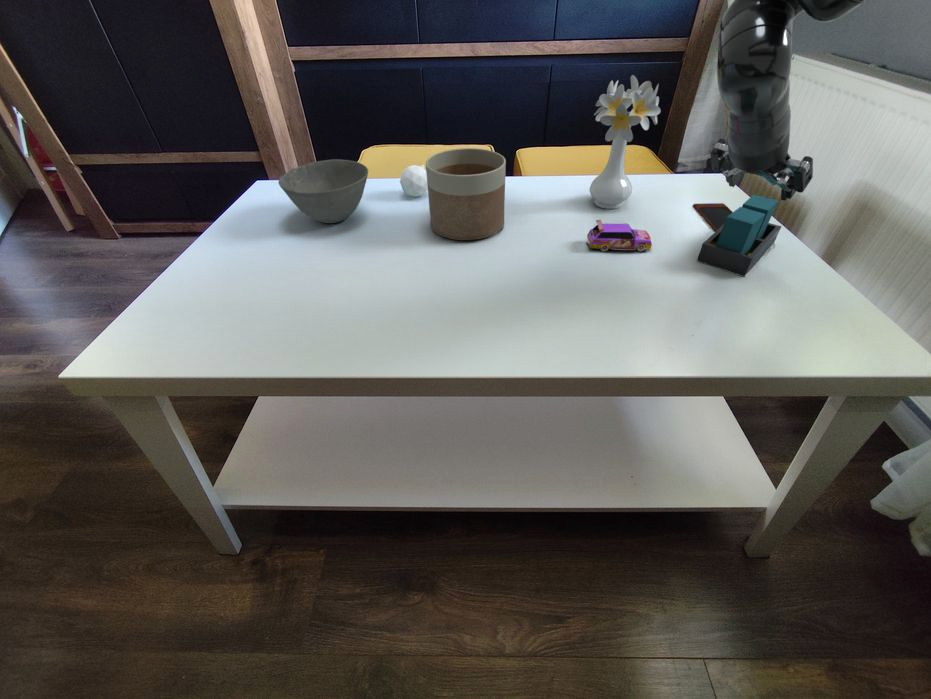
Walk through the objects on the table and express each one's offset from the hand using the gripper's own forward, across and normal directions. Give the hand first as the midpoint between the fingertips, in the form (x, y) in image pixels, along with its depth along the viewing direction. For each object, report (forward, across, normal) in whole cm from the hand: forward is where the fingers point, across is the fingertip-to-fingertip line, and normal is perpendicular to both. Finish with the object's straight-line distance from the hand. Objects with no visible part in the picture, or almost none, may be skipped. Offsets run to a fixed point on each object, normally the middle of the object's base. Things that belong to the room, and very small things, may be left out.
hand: (759, 188), depth 77 cm
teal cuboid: (+14, +1, +4) cm, 14 cm away
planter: (-10, +45, +28) cm, 54 cm away
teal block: (+8, 0, +10) cm, 12 cm away
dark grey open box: (+11, 0, +8) cm, 13 cm away
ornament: (-8, +67, +27) cm, 72 cm away
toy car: (+1, +17, +18) cm, 25 cm away
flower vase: (+12, +30, +7) cm, 33 cm away
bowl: (-23, +70, +42) cm, 85 cm away
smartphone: (+20, +9, 0) cm, 22 cm away
